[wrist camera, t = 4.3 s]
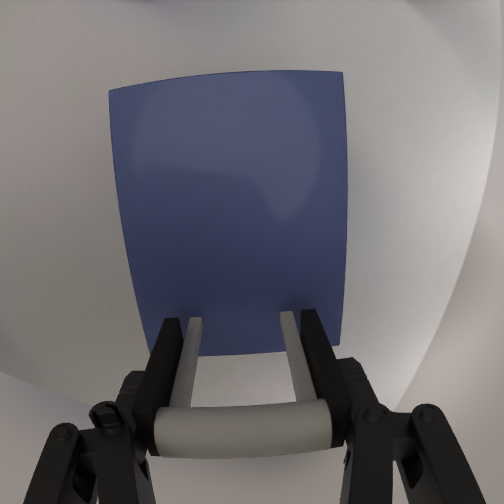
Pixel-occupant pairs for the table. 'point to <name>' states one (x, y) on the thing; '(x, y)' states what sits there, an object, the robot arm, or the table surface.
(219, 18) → the table surface
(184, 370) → the lid
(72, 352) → the table surface
